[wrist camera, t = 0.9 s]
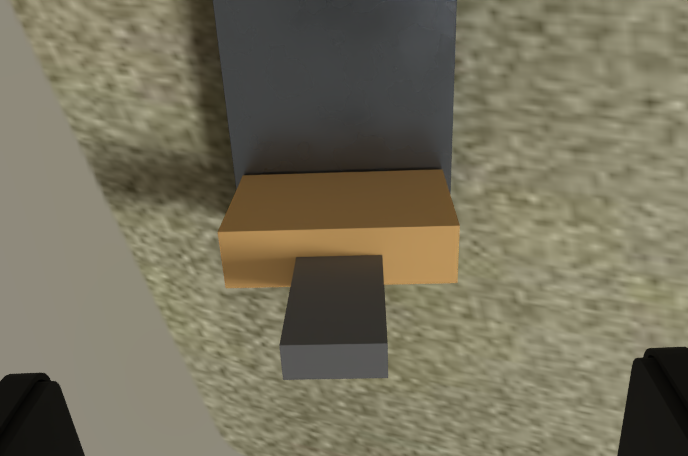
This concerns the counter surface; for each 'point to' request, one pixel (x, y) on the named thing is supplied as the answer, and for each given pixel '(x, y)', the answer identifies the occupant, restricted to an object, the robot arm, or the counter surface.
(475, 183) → the counter surface
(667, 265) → the counter surface
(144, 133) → the counter surface
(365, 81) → the vise
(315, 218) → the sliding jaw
